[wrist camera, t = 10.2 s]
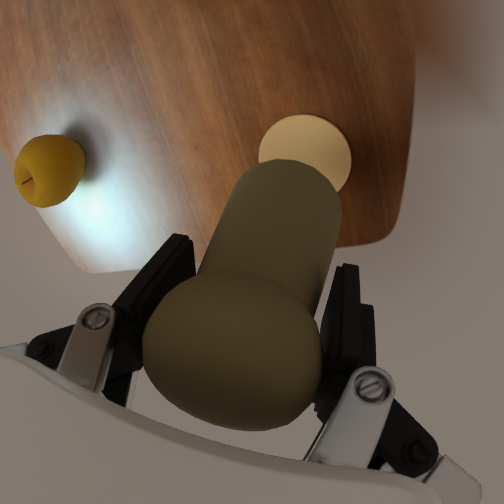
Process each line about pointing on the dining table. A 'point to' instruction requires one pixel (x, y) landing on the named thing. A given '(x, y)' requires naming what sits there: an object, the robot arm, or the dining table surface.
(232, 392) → the pepper shaker
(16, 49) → the dining table surface
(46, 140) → the apple
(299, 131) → the cork mat
